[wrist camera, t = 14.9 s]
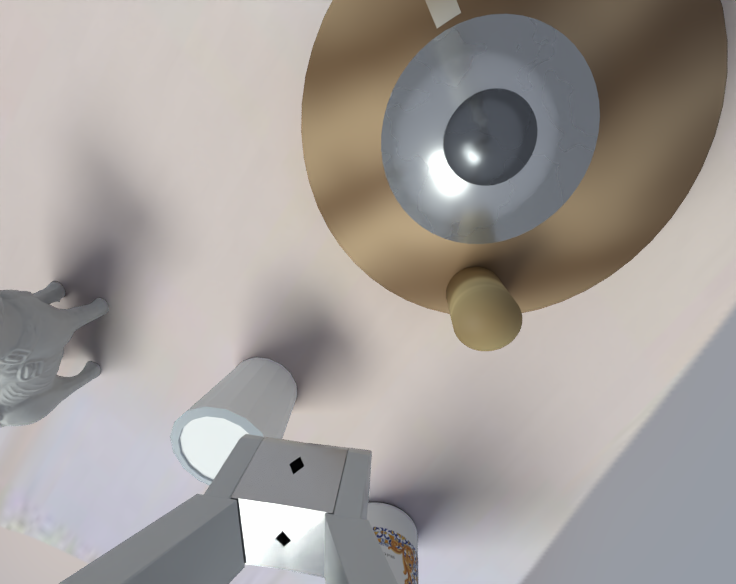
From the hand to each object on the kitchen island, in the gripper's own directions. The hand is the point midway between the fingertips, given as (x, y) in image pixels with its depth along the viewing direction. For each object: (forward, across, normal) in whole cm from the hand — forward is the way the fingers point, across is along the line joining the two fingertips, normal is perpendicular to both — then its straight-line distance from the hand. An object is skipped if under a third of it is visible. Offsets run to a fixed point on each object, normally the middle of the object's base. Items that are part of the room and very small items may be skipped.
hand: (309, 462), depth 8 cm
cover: (+14, -5, -8) cm, 16 cm away
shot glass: (+17, +9, +11) cm, 22 cm away
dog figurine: (+17, +25, +7) cm, 31 cm away
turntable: (+15, -6, -8) cm, 18 cm away
